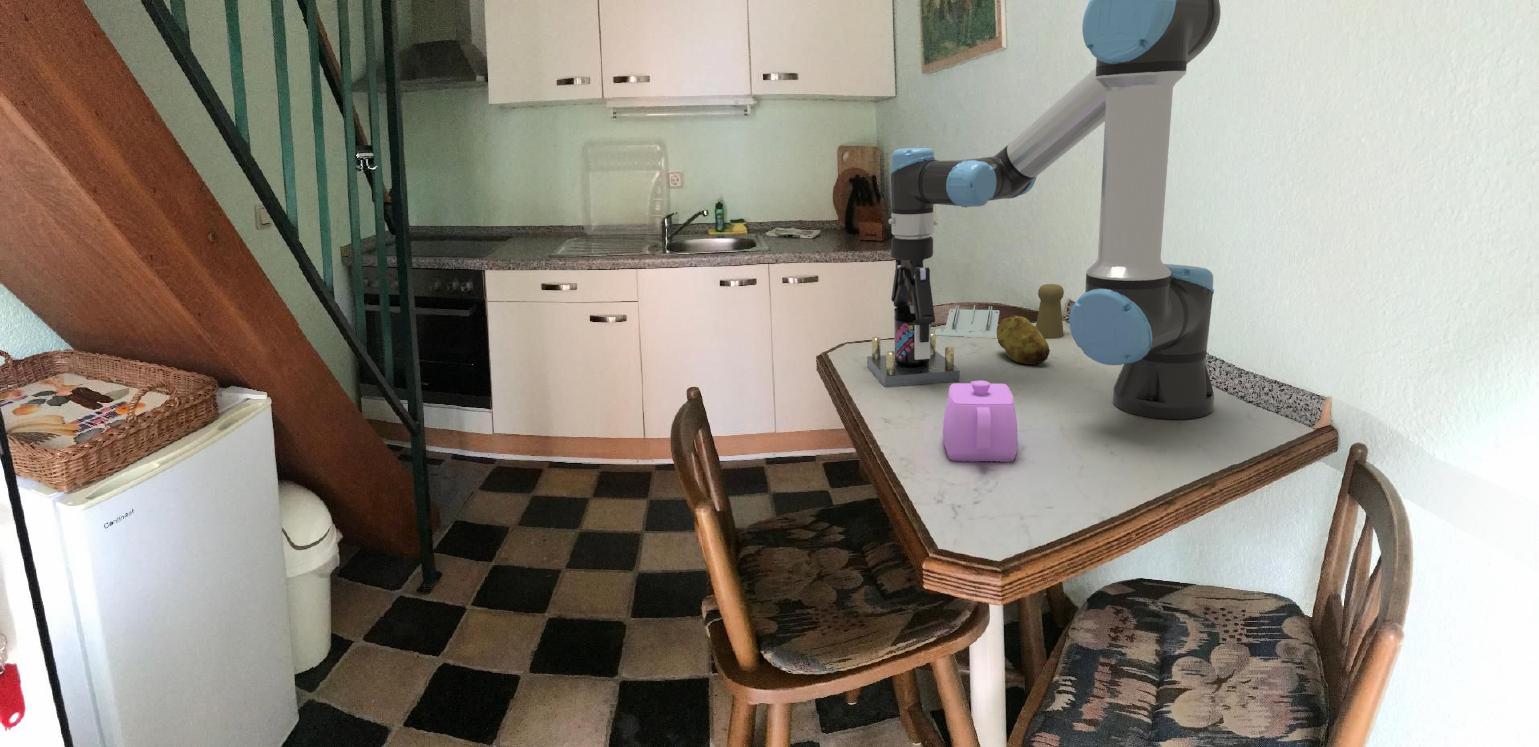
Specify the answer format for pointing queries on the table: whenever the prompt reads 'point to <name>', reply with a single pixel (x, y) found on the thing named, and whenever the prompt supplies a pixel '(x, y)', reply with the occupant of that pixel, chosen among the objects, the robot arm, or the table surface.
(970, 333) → the metal bracket
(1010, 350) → the potato
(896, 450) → the table surface
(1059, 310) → the tan game pawn
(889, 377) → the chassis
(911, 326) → the supplement container
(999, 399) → the teapot
